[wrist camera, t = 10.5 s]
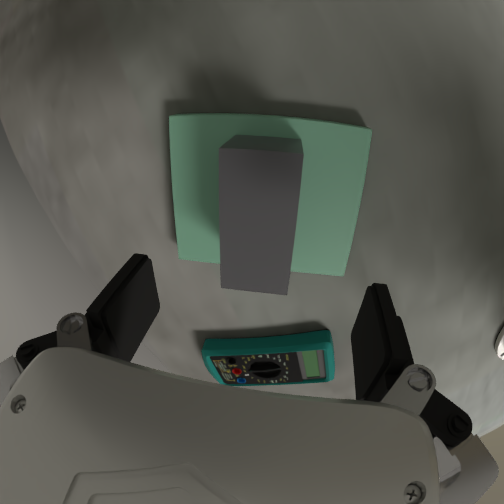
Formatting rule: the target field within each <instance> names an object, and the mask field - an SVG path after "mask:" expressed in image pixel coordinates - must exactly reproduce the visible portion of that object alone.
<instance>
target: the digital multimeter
mask: <svg viewBox="0 0 504 504" xmlns="http://www.w3.org/2000/svg"><path fill="white" fill-rule="evenodd" d="M201 352H202V357H203V360H204V363H205V366H206V368H207V369H208V371H209V372H210V374H211V375H212V376H213V377H214V378H215V379H216V380H217V381H218V382H219V383H220V384H223V385H228V386H259V385H285V384H304V383H319V382H328V381H331V380H333V379H334V372H335V363H334V348H333V341H332V337H331V332H330V331H329V330H321V331H313V332H306V333H299V334H291V335H281V336H270V337H258V338H234V339H206V340H205V342H204V345H203V348H202V351H201ZM250 363H251V364H250Z"/></svg>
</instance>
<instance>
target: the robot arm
mask: <svg viewBox="0 0 504 504" xmlns="http://www.w3.org/2000/svg"><path fill="white" fill-rule="evenodd" d="M159 309H160V303H159V298H158V293H157V288H156V283H155V277H154V272H153V266H152V261H151V259H149V258H148V256H147V255H144V254H137V253H136V254H134V255H133V256H132V257H131V258H130V259H129V260H128V261H127V262H126V263H125V265H124V266H123V267H122V268H121V269H120V270H119V271H118V273H117V274H116V275H115V276H114V277H113V278H112V280H111V281H110V282H109V283H108V284H107V286H106V287H105V288H104V289H103V290H102V292H101V293H100V294H99V295H98V297H97V298H96V299H95V300H94V301H93V303H92V304H91V305H90V306H89V308H88V309H87V310H86V311H87V313H86V314H85V316H84V315H83V314H81V313H70V314H67V315H66V316H64V317H62V318H61V320H60V321H59V322H58V324H57V331H55V332H52V333H49V334H46V335H43V336H40V337H37V338H34V339H31V340H28V341H26V342H24V343H23V344H22V345H20V347H19V348H18V350H17V352H16V357H13V356H11V357H9V358H7V359H6V360H4V361H3V362H1V363H0V504H475V503H476V502H477V501H478V500H479V499H480V498H481V496H482V495H483V494H484V493H485V492H486V491H487V490H488V489H489V487H490V486H491V485H492V484H493V483H494V482H495V480H496V478H497V477H498V472H499V471H498V465H497V463H496V461H495V460H494V458H493V457H492V455H491V454H490V453H489V451H488V450H487V448H486V447H485V445H484V444H483V443H482V442H481V440H480V439H479V437H478V436H477V434H476V435H475V436H474V435H473V434H472V433H471V432H472V421H471V419H470V417H469V415H468V414H467V413H466V412H464V411H463V410H462V409H460V408H459V407H458V406H456V405H455V404H454V403H453V402H451V401H450V400H449V399H447V398H446V397H445V396H443V395H442V394H441V393H439V392H438V391H437V390H435V386H436V379H435V376H434V374H433V373H432V371H431V370H430V369H428V368H427V367H425V366H423V365H420V364H414V361H413V358H412V354H411V350H410V346H409V343H408V339H407V336H406V332H405V329H404V326H403V322H402V319H401V317H399V316H397V315H396V312H395V309H394V306H393V303H392V299H391V296H390V293H389V290H388V287H387V285H386V284H379V283H373V284H372V286H368V287H367V290H366V293H365V296H364V299H363V302H362V304H361V307H360V310H359V313H358V316H357V319H356V321H355V324H354V327H353V329H352V333H351V344H352V354H353V364H354V376H355V390H356V400H351V399H335V398H322V397H310V396H300V395H290V394H281V393H273V392H266V391H259V390H252V389H246V388H240V387H234V386H228V385H223V384H217V383H212V382H207V381H202V380H198V379H193V378H189V377H184V376H180V375H176V374H172V373H168V372H164V371H160V370H156V369H152V368H149V367H145V366H141V365H138V364H134V363H131V362H130V361H131V360H132V358H133V356H134V354H135V352H136V351H137V349H138V347H139V345H140V343H141V342H142V340H143V338H144V336H145V335H146V333H147V331H148V329H149V328H150V326H151V324H152V322H153V321H154V319H155V317H156V315H157V314H158V312H159ZM495 351H496V353H497V356H498V357H499V358H500V359H504V327H503V328H502V330H501V332H500V333H499V335H498V338H497V340H496V344H495ZM439 477H440V482H439ZM407 485H408V486H407Z"/></svg>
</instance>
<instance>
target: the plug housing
mask: <svg viewBox="0 0 504 504" xmlns="http://www.w3.org/2000/svg"><path fill="white" fill-rule="evenodd" d="M303 158H304V152H303V146H302V141H301V139H293V138H282V137H269V136H253V135H235V136H233V137H232V138H231V139H230V140H228V141H227V142H226V143H225V144H223V145H222V146H221V147H220V148H219V234H220V272H221V288H227V289H235V290H244V291H252V292H261V293H270V294H280V295H287V292H288V285H289V278H290V270H291V263H292V255H293V248H294V240H295V232H296V223H297V215H298V206H299V197H300V188H301V178H302V168H303Z"/></svg>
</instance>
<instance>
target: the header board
mask: <svg viewBox="0 0 504 504" xmlns="http://www.w3.org/2000/svg"><path fill="white" fill-rule="evenodd" d="M169 133H170V157H171V175H172V190H173V203H174V215H175V226H176V236H177V245H178V254H179V259H184V260H192V261H201V262H210V263H219V264H220V234H219V148H220V147H221V146H222V145H223V144H225V143H226V142H227V141H228V140H230V139H231V138H232V137H233V136H235V135H253V136H269V137H282V138H293V139H301V141H302V146H303V152H304V158H303V168H302V178H301V188H300V197H299V206H298V215H297V223H296V232H295V240H294V248H293V255H292V263H291V270H290V271H294V272H304V273H314V274H324V275H334V276H344V273H345V269H346V265H347V261H348V257H349V253H350V248H351V244H352V240H353V235H354V231H355V226H356V222H357V217H358V212H359V207H360V202H361V197H362V192H363V186H364V181H365V175H366V169H367V163H368V157H369V150H370V143H371V136H372V130H371V129H370V128H368V127H363V126H358V125H352V124H346V123H339V122H332V121H325V120H317V119H309V118H299V117H289V116H276V115H261V114H236V113H192V114H175V115H171V116H169Z"/></svg>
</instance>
